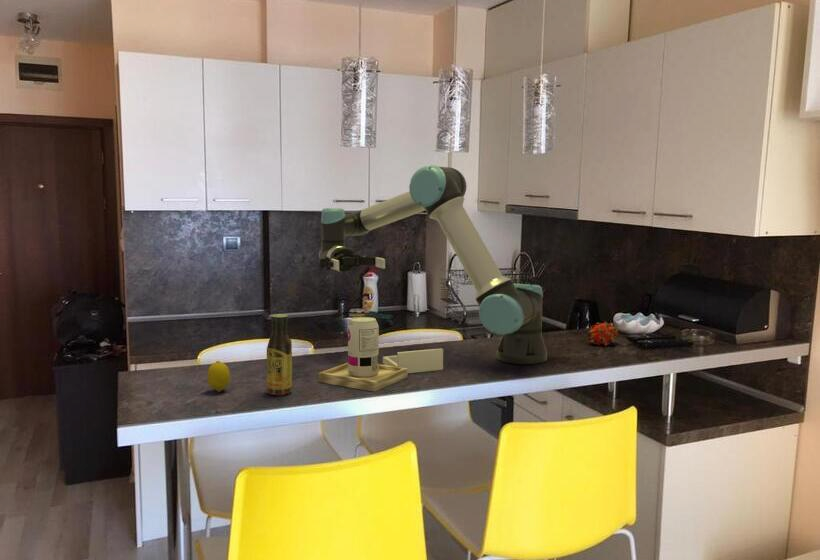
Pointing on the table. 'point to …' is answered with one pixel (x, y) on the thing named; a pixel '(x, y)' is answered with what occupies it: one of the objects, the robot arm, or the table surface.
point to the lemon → (218, 376)
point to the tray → (373, 383)
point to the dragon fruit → (603, 333)
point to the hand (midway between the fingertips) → (361, 264)
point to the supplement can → (363, 347)
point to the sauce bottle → (279, 357)
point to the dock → (417, 360)
